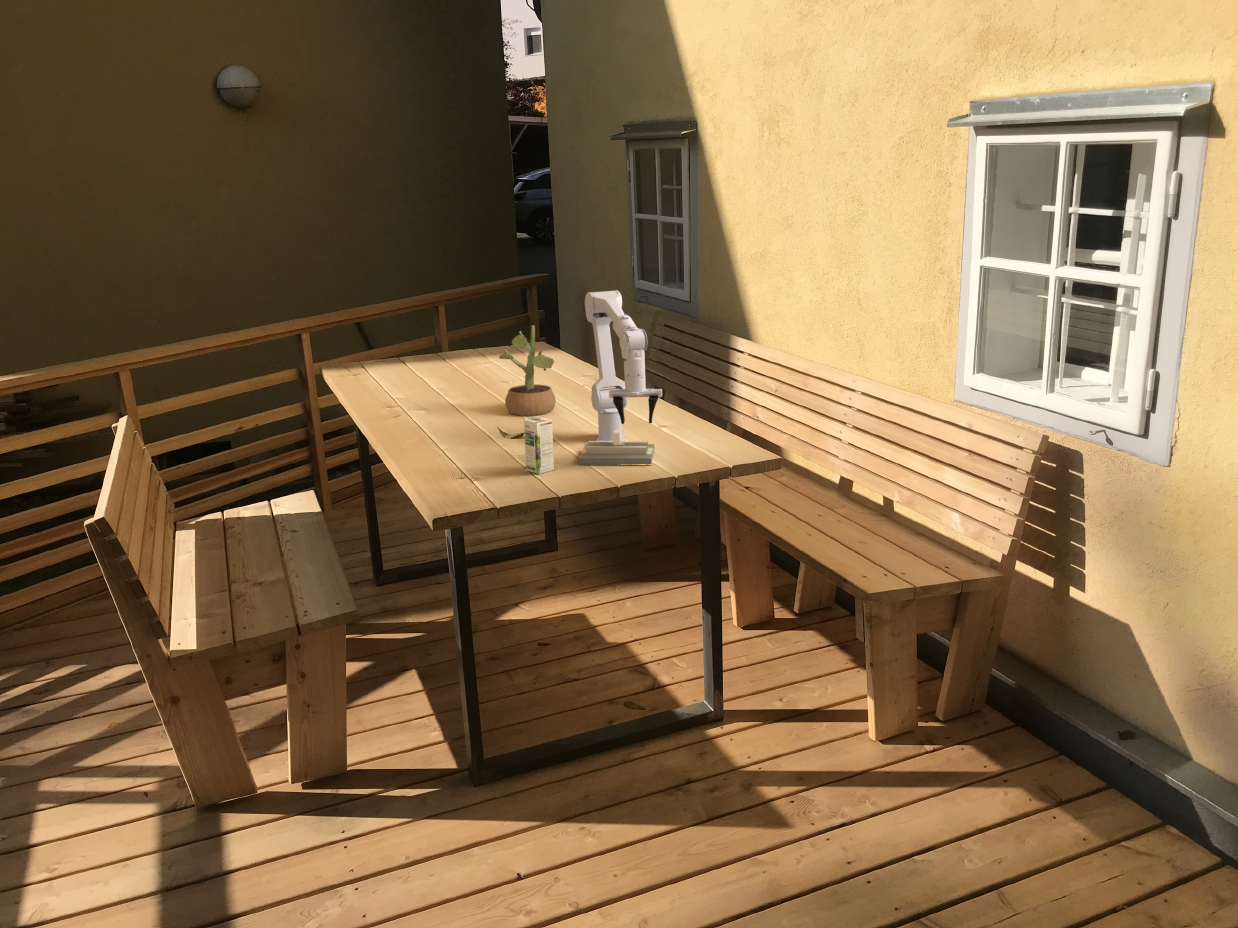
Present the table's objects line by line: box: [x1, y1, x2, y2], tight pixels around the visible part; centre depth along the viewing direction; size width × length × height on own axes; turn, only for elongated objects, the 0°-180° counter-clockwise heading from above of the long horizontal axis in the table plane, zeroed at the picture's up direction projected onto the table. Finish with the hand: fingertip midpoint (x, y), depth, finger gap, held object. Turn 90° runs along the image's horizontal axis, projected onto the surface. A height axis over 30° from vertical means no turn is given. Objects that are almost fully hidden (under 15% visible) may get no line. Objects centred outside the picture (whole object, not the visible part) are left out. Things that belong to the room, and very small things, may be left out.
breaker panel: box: [578, 440, 655, 466], centre depth 277 cm, size 14×20×4 cm
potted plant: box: [498, 325, 557, 417], centre depth 326 cm, size 22×18×30 cm
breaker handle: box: [609, 430, 625, 446], centre depth 277 cm, size 3×4×5 cm
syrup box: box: [523, 415, 555, 475], centre depth 267 cm, size 6×6×14 cm
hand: (636, 422), depth 273 cm, fingers open, 7 cm apart
